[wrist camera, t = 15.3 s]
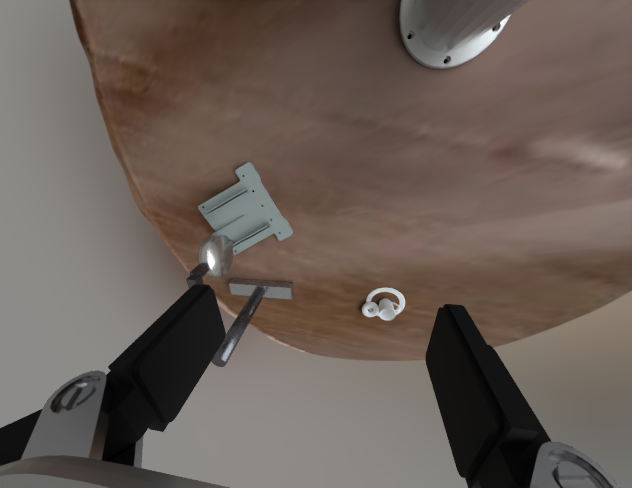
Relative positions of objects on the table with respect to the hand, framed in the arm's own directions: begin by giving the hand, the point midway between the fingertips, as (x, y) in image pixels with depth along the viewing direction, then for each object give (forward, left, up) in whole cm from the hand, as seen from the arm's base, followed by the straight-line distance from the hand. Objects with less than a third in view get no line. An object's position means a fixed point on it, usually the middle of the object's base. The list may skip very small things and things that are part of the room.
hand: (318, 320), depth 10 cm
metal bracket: (+7, -19, -33) cm, 39 cm away
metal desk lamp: (+16, -18, -32) cm, 40 cm away
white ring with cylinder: (+24, +6, -33) cm, 41 cm away
